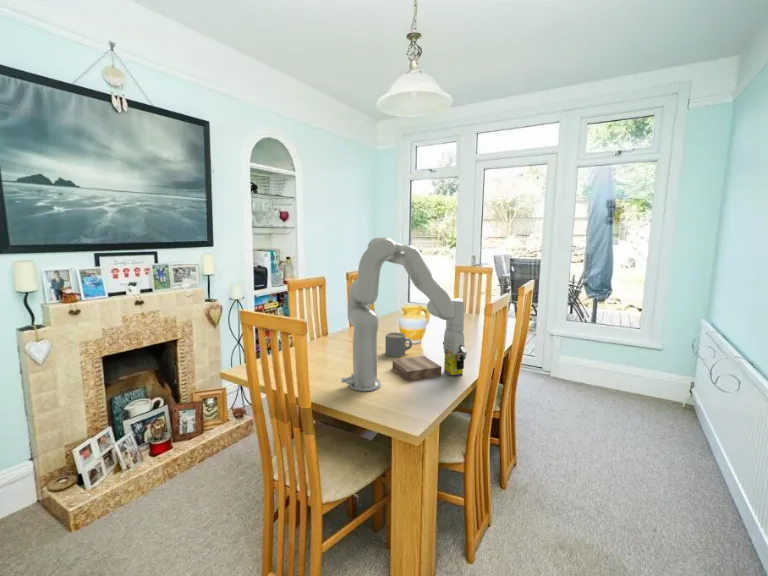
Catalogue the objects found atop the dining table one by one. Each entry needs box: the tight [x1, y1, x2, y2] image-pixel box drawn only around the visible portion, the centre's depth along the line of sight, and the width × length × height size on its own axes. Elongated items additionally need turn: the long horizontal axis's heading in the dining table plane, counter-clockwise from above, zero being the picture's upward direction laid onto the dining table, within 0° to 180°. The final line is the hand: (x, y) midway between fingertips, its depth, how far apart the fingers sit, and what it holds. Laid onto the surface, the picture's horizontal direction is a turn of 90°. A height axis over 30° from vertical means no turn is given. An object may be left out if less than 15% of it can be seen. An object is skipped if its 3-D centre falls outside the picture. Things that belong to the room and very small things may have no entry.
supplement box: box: [443, 349, 464, 378], centre depth 165 cm, size 6×6×11 cm
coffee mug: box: [385, 331, 413, 358], centre depth 193 cm, size 13×10×10 cm
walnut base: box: [392, 355, 442, 382], centre depth 168 cm, size 16×16×4 cm
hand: (453, 365), depth 166 cm, fingers open, 9 cm apart
